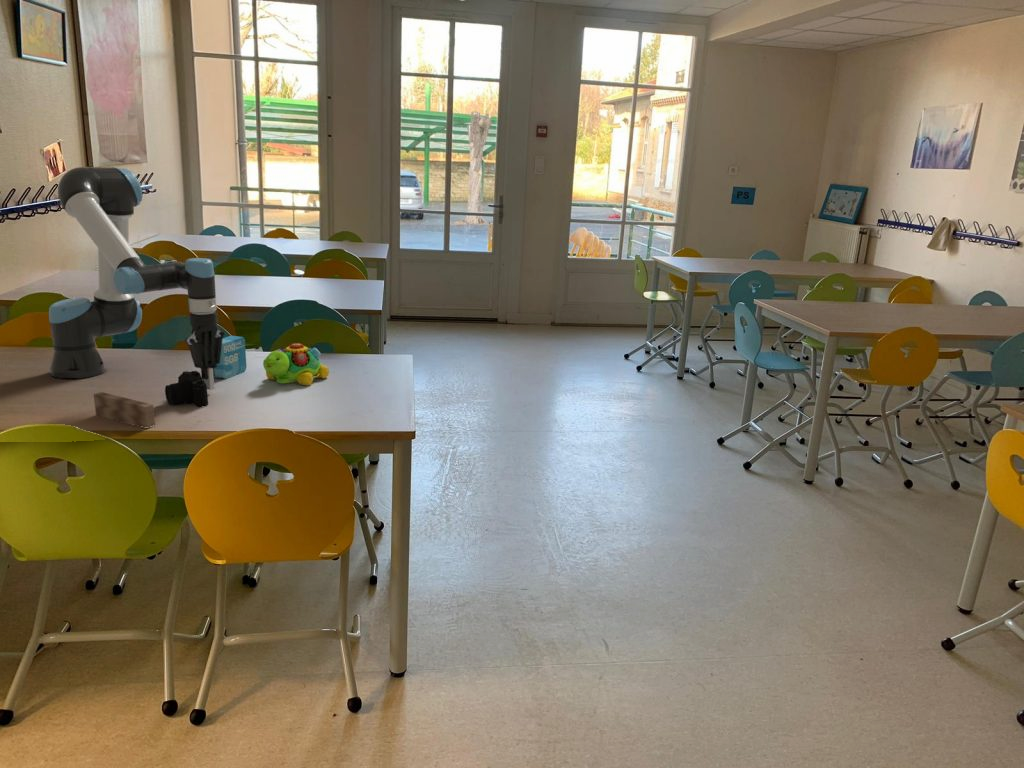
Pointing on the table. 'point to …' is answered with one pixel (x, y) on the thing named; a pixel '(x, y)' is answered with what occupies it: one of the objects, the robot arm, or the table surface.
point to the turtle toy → (295, 365)
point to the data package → (231, 357)
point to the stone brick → (124, 409)
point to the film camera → (188, 390)
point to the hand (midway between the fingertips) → (209, 388)
